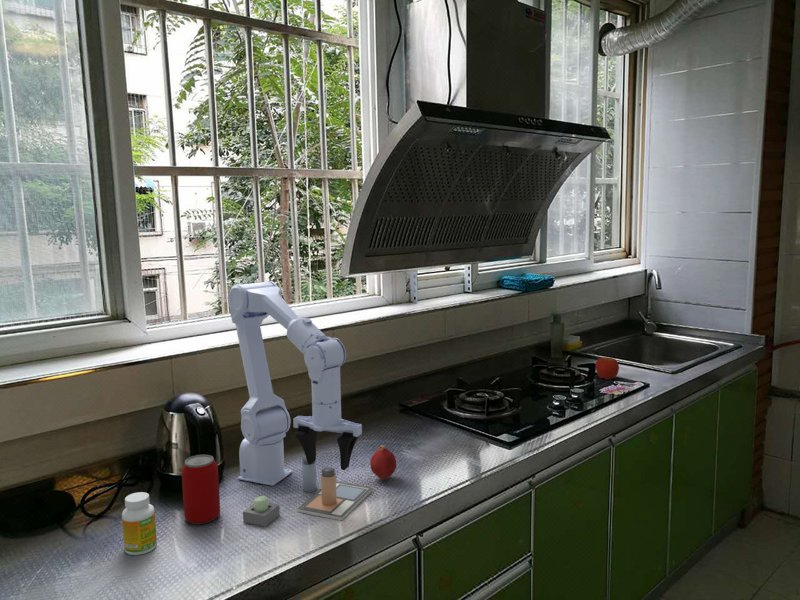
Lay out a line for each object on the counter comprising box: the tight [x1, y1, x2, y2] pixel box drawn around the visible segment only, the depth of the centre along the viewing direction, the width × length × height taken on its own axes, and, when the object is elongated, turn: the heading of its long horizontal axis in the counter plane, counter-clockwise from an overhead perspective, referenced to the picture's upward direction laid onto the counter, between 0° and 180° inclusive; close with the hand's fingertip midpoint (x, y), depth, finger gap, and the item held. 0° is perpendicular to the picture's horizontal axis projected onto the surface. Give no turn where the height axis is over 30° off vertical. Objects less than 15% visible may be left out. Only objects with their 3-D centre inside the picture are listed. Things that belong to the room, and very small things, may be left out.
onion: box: [369, 445, 397, 481], centre depth 140 cm, size 6×6×8 cm
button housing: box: [242, 501, 281, 528], centre depth 123 cm, size 5×5×2 cm
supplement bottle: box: [121, 491, 158, 556], centre depth 113 cm, size 5×5×10 cm
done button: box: [253, 495, 269, 513], centre depth 123 cm, size 3×3×3 cm
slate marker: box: [301, 455, 318, 493], centre depth 136 cm, size 3×3×7 cm
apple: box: [595, 356, 620, 380], centre depth 220 cm, size 8×8×8 cm
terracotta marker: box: [320, 466, 337, 506], centre depth 128 cm, size 3×3×7 cm
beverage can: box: [181, 454, 221, 525], centre depth 123 cm, size 7×7×12 cm
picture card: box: [296, 480, 373, 521], centre depth 130 cm, size 10×14×1 cm
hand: (328, 465), depth 127 cm, fingers open, 7 cm apart
